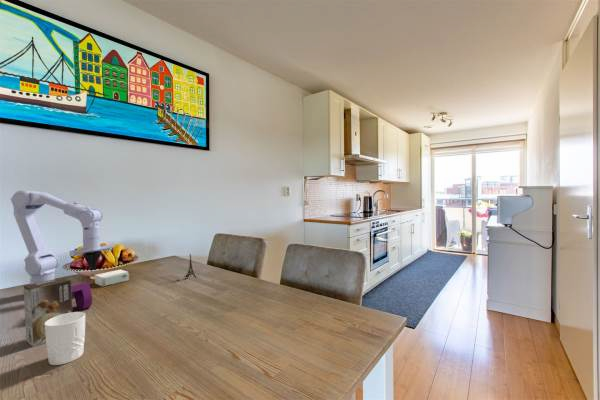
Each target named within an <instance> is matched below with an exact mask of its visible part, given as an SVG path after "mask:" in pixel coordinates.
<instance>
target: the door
mask: <svg viewBox="0 0 600 400" xmlns="http://www.w3.org/2000/svg"><path fill="white" fill-rule="evenodd" d="M127 281H130V273H129V272H128V273H125V274H120V275H115V276H111V277H106V278H102V286H101V287H102V288H103V287H105V286H106V287H107V286H110V285H114V284H118V283H122V282H123V283H124V282H127Z"/></svg>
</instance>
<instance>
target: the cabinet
mask: <svg viewBox="0 0 600 400" xmlns="http://www.w3.org/2000/svg"><path fill="white" fill-rule="evenodd" d="M125 273H129V271H128V270H127V271H126V270H123V269H117V270H116V269H115V270H111V271H107V272H102V273H98V274H94V284H96V285H98V286H100V287H102V278H106V277H111V276H115V275H120V274H125Z"/></svg>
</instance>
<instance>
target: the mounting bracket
mask: <svg viewBox="0 0 600 400" xmlns="http://www.w3.org/2000/svg"><path fill="white" fill-rule="evenodd" d="M90 286H91V285H90V282H89V281H87V282H84V283H80V284H76V285H71V291H72V300H75V305H76V307H77V309H79V310H80V311H81V310H86V309H90V307H92V304H93V295H92V290H91V287H90Z"/></svg>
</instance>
